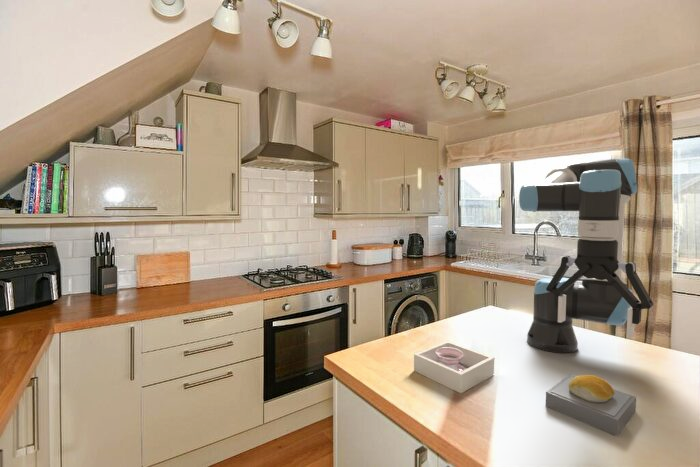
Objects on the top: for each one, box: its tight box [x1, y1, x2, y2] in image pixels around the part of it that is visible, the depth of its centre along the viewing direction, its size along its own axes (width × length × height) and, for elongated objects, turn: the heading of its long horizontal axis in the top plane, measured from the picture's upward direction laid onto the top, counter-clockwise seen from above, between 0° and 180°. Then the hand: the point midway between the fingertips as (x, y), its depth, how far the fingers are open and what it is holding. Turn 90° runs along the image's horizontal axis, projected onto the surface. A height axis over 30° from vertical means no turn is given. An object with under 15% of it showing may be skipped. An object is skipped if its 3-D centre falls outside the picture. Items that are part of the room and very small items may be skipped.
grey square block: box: [545, 374, 637, 437], centre depth 81 cm, size 14×14×4 cm
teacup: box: [436, 347, 467, 371], centre depth 99 cm, size 12×12×6 cm
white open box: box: [413, 340, 495, 394], centre depth 99 cm, size 16×16×5 cm
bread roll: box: [568, 374, 615, 402], centre depth 81 cm, size 8×9×4 cm
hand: (593, 328), depth 80 cm, fingers open, 13 cm apart
